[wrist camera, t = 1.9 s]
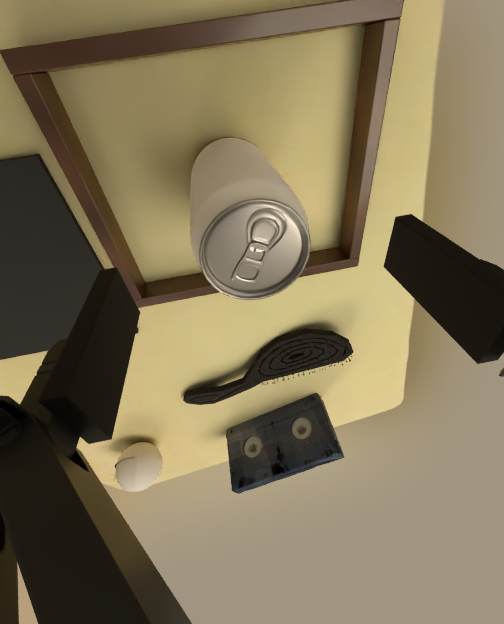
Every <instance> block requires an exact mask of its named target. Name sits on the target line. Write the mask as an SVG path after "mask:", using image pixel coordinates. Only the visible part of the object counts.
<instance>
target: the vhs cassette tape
mask: <svg viewBox="0 0 504 624" xmlns="http://www.w3.org/2000/svg"><path fill="white" fill-rule="evenodd" d="M226 438H227V442H228V443H227V446H228V455H229V464H230V474H231V485H232V491H234V492H236V493H242V492H244V491H247V490H250V489H254V488H257V487H259V486H262V485H266V484H268V483H271V482H273V481H276V480H280V479H283V478H286V477H289V476H292V475H295V474H297V473H300V472H304V471H306V470H309V469H312V468H314V467H316V466H319V465H322V464H326V463H329V462H332V461H335V460H338V459H341V458H344V455H343V452H342V450H341V447H340V445H339V442H338V440H337V436H336V434H335V431H334V428H333V426H332V424H331V421H330V419H329V416H328V413H327V411H326V408H325V405H324V402H323V400H322V399H321V397H320V396H319V395H318V394H317V393H316V394H313V395H311V396H308V397H306V398H304V399H301V400H299V401H296V402H294V403H291V404H289V405H286V406H284V407H281V408H279V409H276V410H274V411H272V412H269V413H266V414H264V415H261V416H259V417H256V418H254V419H252V420H249V421H247V422H244V423H242V424H239V425H237V426H234V427H232V428H230V429H228V430H227V431H226Z"/></svg>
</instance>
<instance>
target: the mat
mask: <svg viewBox="0 0 504 624" xmlns="http://www.w3.org/2000/svg"><path fill="white" fill-rule="evenodd" d="M100 270H104V268H103V266H102V264H101V263H100V261H99V259H98V257H97V256H96V254H95V252H94V250H93V249H92V247H91V245H90V243H89V241H88V240H87V238H86V236H85V234H84V233H83V231H82V229H81V227H80V225H79V224H78V222H77V220H76V218H75V217H74V215H73V213H72V211H71V210H70V208H69V206H68V204H67V202H66V201H65V199H64V197H63V195H62V194H61V192H60V190H59V188H58V187H57V185H56V183H55V181H54V179H53V178H52V176H51V174H50V172H49V171H48V169H47V167H46V165H45V163H44V162H43V160H42V158H41V156H40V155H39V154H35V155H29V156H23V157H17V158H11V159H4V160H0V360H1V359H7V358H12V357H17V356H22V355H27V354H32V353H38V352H43V351H48V350H50V349H51V348H52V347H53V346H54V345H55V344H56V342H57V341H58V340H62V339H67V338H68V336H69V334H70V332H71V330H72V328H73V326H74V324H75V322H76V320H77V317H78V315H79V313H80V311H81V309H82V307H83V305H84V303H85V301H86V298H87V296H88V294H89V292H90V290H91V288H92V286H93V284H94V282H95V279H96V277H97V275H98V273H99V271H100ZM136 333H138V328H136Z"/></svg>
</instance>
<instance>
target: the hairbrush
mask: <svg viewBox="0 0 504 624" xmlns="http://www.w3.org/2000/svg"><path fill="white" fill-rule="evenodd" d="M343 346H344V347H343ZM352 353H353V349H352V346H351V344H350V343H349V340H348V339H346V338H344V337H343V336H341V335H339V334H337V333H335V332H333V331H327V330H315V329H303V330H300V331H297V332H293V333H290V334H287V335H284V336H280V337H277V338H276V339H274V340H273V341H272V342H271V343H270V344H268V345H267V346H266V347H265V348H263V349H262V350H261V351H260V353H259V354H258V356H257V357H256V359H255V361H254V362H253V364H252V365H251V367H250V368H249V370H248V371H247V373H246V374H245V376H244V377H243V378H242V379H239V380H236V381H233V382H230V383H228V384H225V385H222V386H216V387H209V388H202V389H197V390H193V391H188V392H186V393H185V395H184V399H183V401H185V402H186V403H189V404H197V405H202V404H213V403H216V402H219V401H222V400H224V399H227V398H229V397H232V396H234V395H236V394H239V393H241V392H243V391H246V390H248V389H250V388H252V387H254V386H256V385H258V384H260V383H261V382H263V381H267V380H271V379H272V380H274V383H275V378H277V379H278V378H279V377H283V376H288V375H291V374H292V375H294V374H295V373H299V372H303V371H306V370H310V369H314V368H318V367H322V366H326V365H329V364H333V363H337V362H338V363H339V362H340V361H344V360H345V359H346V358H347V357H348V356H350V355H352ZM351 357H352V356H351ZM348 359H349V358H348ZM349 361H351V360H349ZM346 362H347V361H346ZM341 363H342V362H341ZM342 365H343V364H342ZM331 366H332V365H331ZM334 366H335V365H334ZM329 367H330V366H329ZM258 369H260V370H258ZM322 370H323V369H322ZM314 372H315V371H314ZM303 373H304V372H303ZM312 373H313V372H312ZM309 374H310V373H309ZM303 375H304V374H303ZM298 376H299V374H298ZM293 378H294V377H293ZM288 380H289V378H288ZM283 381H284V380H283ZM262 384H263V383H262ZM267 384H268V382H267ZM265 385H266V384H265Z"/></svg>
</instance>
